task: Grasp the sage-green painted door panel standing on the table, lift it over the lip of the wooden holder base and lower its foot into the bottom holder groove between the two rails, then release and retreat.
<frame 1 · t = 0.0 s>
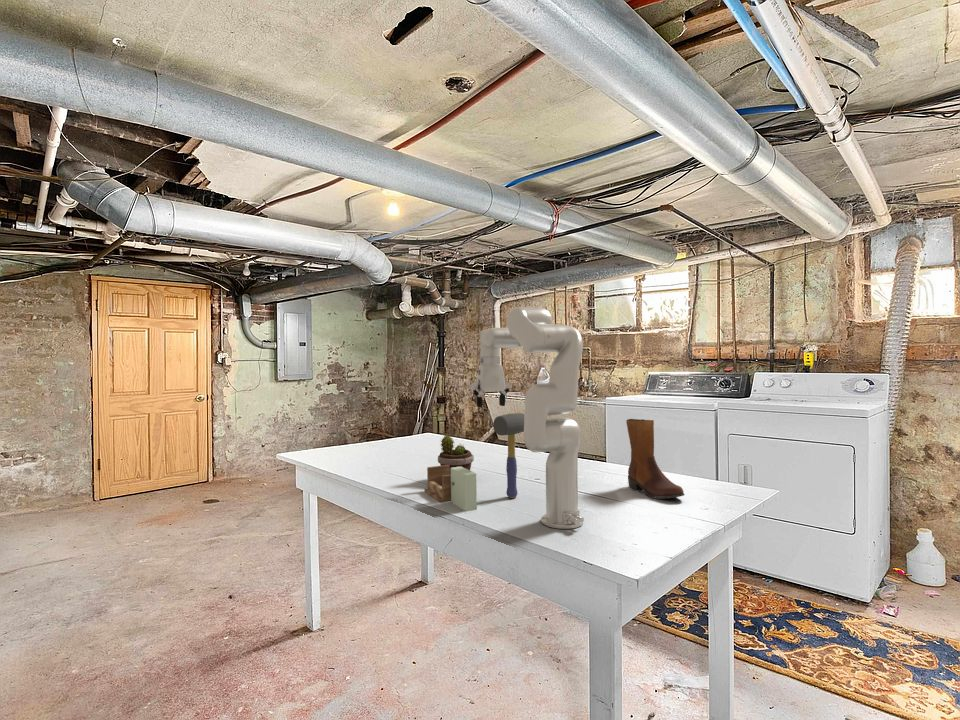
hand: (491, 406, 192), 31 cm above the table, fingers open, 9 cm apart
wooden holder: (446, 494, 184), on the table
boot: (654, 494, 182), on the table
door panel: (463, 505, 171), on the table
flowerpot: (456, 481, 204), on the table
rubber mallet: (512, 498, 180), on the table
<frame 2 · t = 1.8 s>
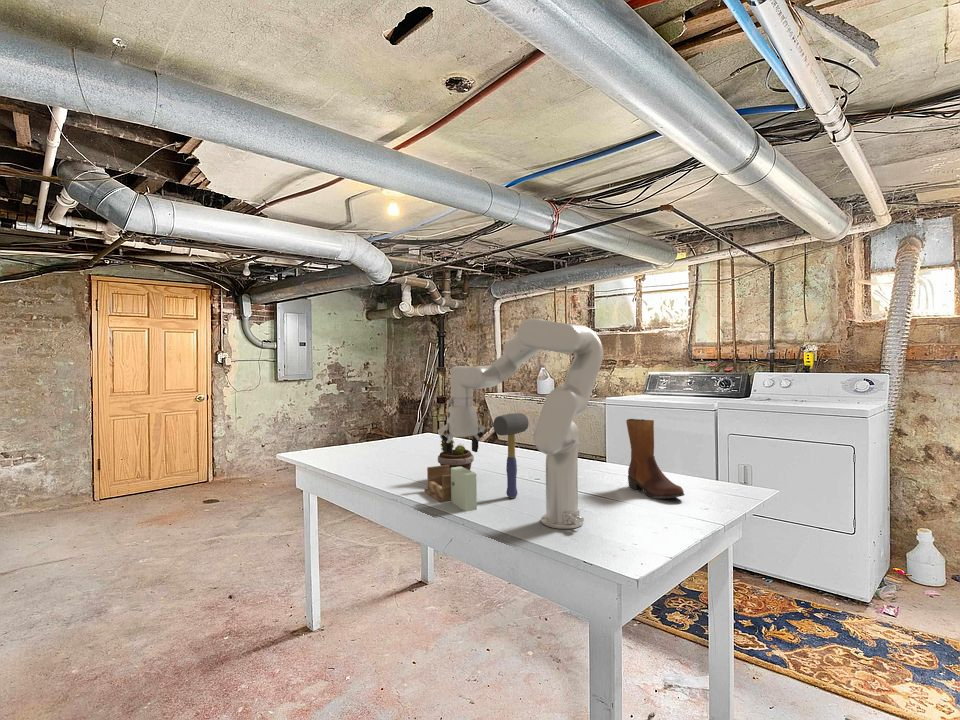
hand: (461, 452, 171), 18 cm above the table, fingers open, 9 cm apart
nothing on the table moved.
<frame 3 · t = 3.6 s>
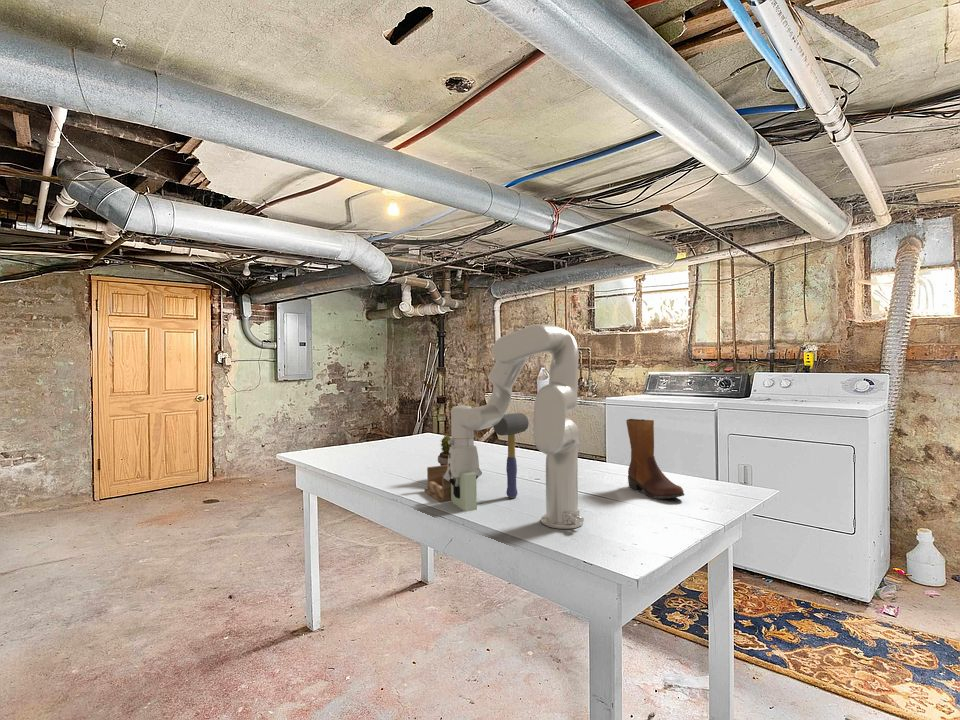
hand: (463, 495, 171), 3 cm above the table, fingers closed on door panel, 4 cm apart
door panel: (463, 505, 171), on the table, touching gripper
everything else where it was.
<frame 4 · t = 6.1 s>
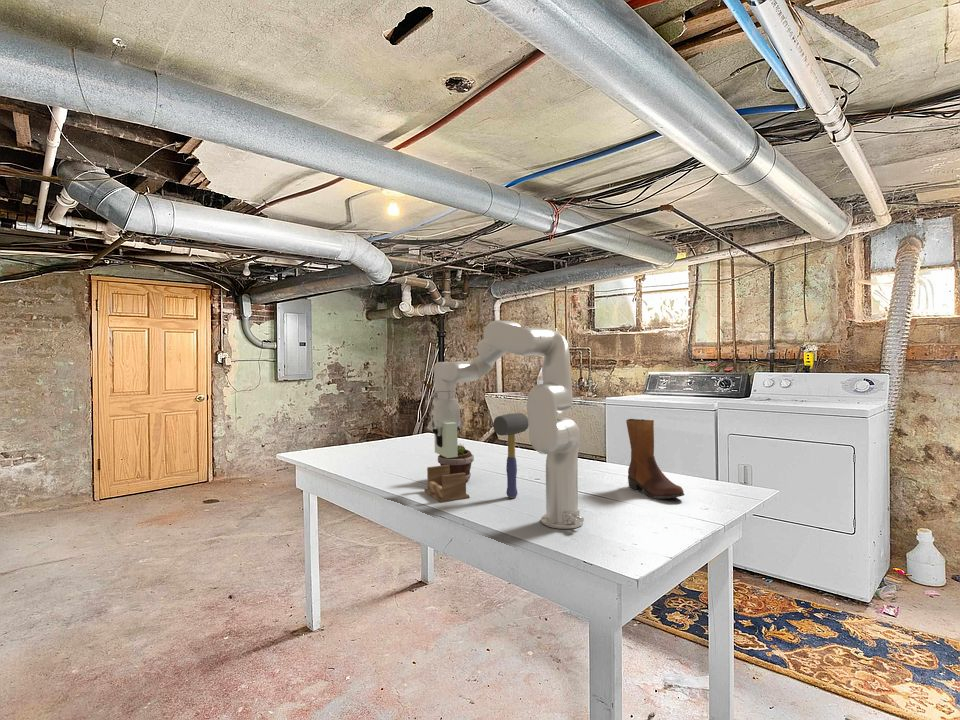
hand: (445, 445, 184), 18 cm above the table, fingers closed on door panel, 4 cm apart
door panel: (445, 454, 184), point 15 cm above the table, touching gripper
everything else where it was.
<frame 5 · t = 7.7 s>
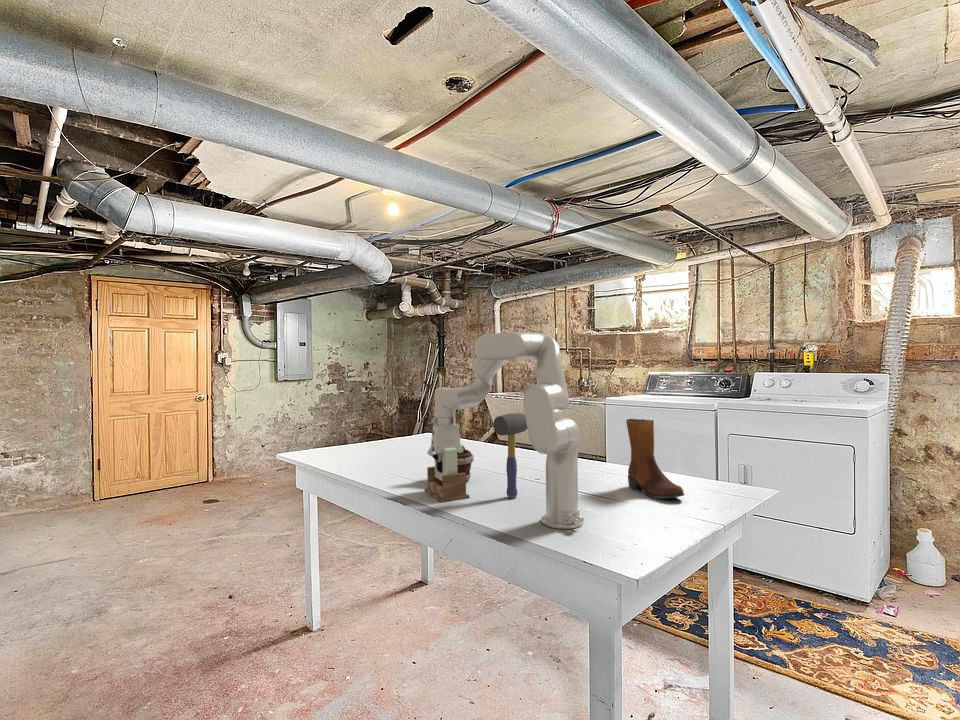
hand: (445, 470, 184), 9 cm above the table, fingers closed on door panel, 4 cm apart
door panel: (445, 479, 184), point 6 cm above the table, touching gripper
everything else where it was.
when the fingers open (5 cm above the table, at t = 8.8 s): door panel stays where it is, resting on wooden holder.
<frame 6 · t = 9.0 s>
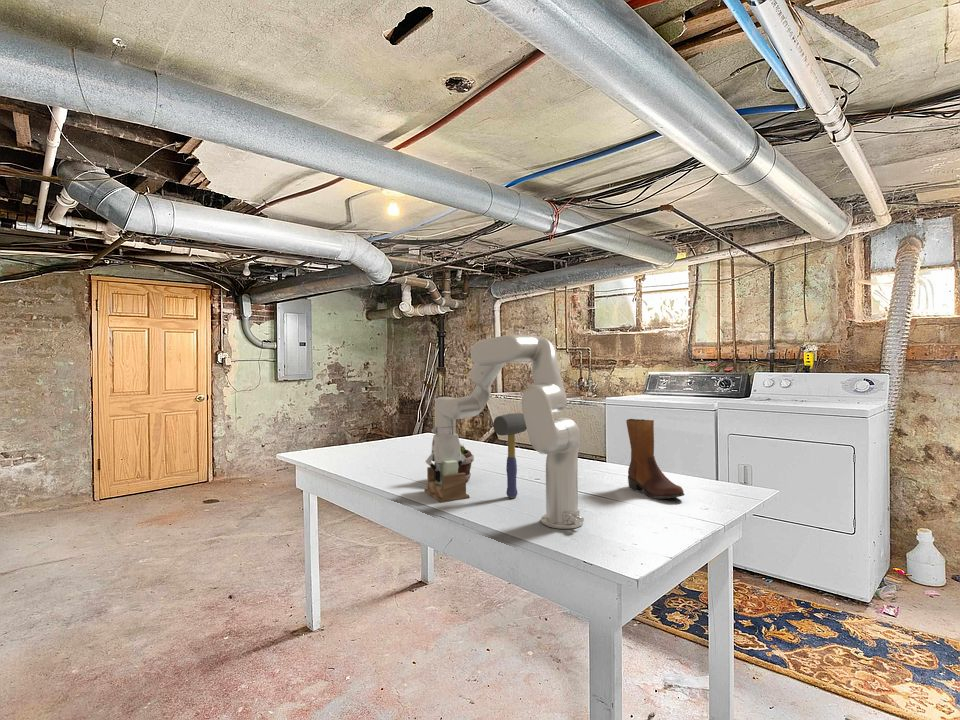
hand: (446, 479, 184), 6 cm above the table, fingers open, 6 cm apart
door panel: (446, 492, 184), point 1 cm above the table, touching wooden holder
everything else where it was.
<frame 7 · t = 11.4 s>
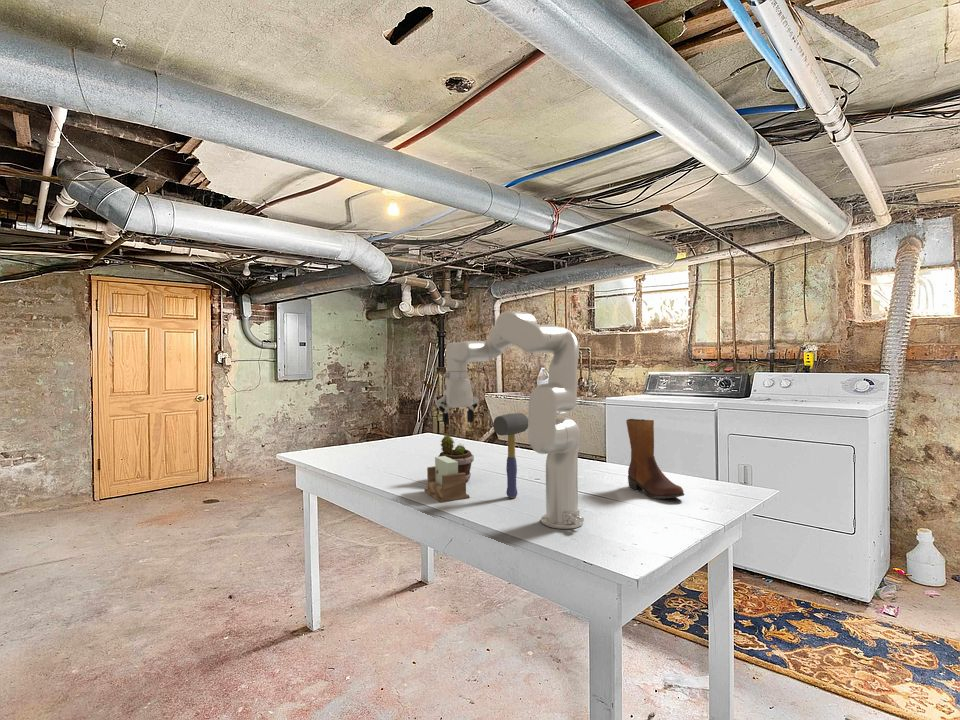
hand: (458, 422, 185), 26 cm above the table, fingers open, 9 cm apart
nothing on the table moved.
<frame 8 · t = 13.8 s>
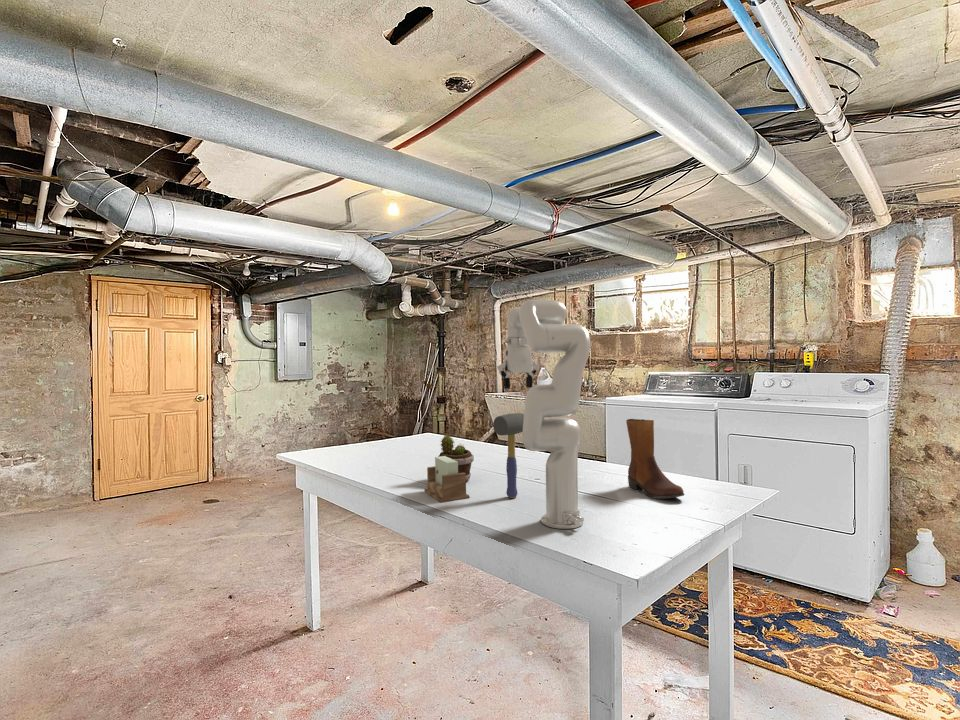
hand: (518, 388, 190), 38 cm above the table, fingers open, 9 cm apart
nothing on the table moved.
at the end: door panel inside the target area on the wooden holder (0.2 cm from its centre), point 1.0 cm above the wooden holder's base; door panel tilted 0°; the gripper is holding nothing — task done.
